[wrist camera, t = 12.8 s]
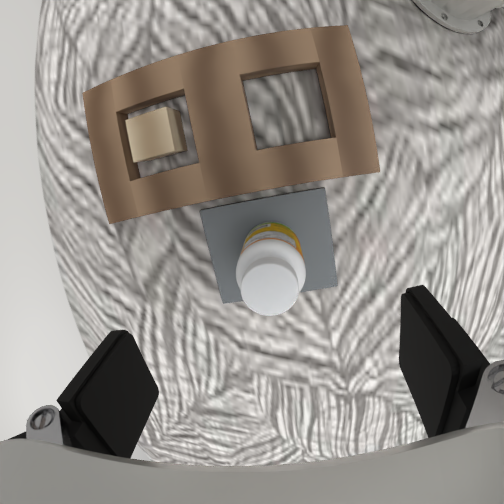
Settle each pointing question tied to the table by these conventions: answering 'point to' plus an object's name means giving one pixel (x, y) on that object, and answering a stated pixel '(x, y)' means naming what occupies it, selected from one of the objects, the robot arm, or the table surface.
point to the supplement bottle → (270, 269)
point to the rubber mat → (271, 210)
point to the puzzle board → (231, 122)
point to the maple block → (156, 134)
